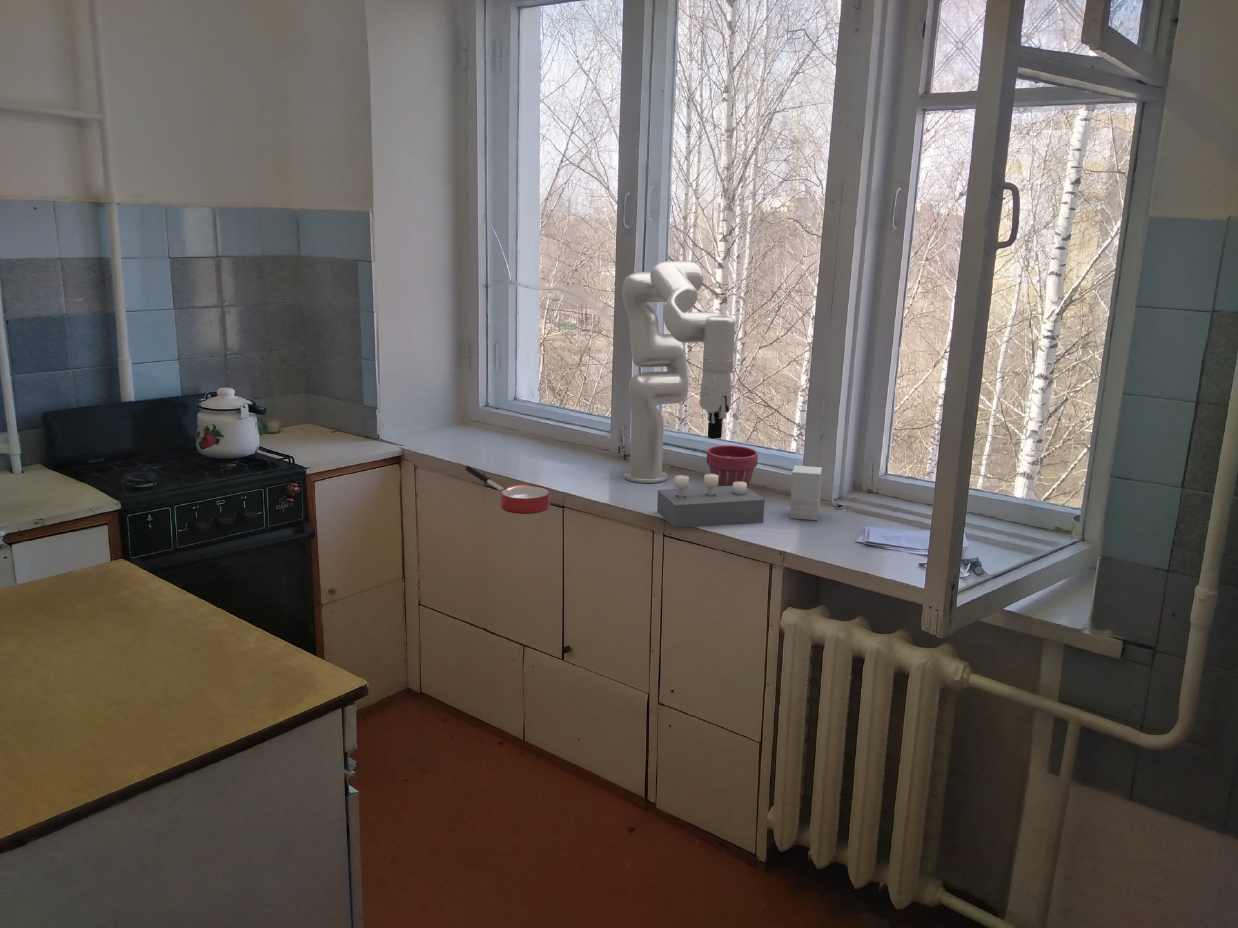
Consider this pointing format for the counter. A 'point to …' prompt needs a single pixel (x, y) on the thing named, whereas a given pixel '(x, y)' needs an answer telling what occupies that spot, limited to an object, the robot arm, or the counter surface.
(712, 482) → the knob
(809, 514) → the supplement box
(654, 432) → the robot arm
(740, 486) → the knob
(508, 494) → the red saucepan
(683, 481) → the knob
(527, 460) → the counter surface
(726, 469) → the plant pot
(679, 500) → the control box
